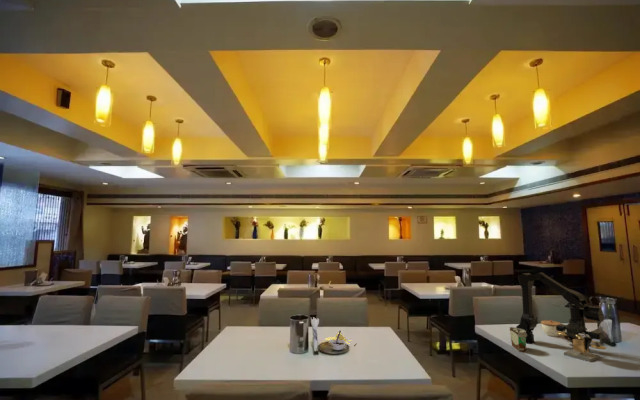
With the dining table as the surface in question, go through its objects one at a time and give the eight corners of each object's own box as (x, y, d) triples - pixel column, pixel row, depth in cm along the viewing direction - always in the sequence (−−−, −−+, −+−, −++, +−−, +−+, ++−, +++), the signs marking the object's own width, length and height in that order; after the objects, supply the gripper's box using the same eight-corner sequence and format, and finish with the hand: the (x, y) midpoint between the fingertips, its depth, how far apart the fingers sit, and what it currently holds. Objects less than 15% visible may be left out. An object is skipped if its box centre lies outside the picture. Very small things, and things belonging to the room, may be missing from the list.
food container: (533, 353, 163) (531, 333, 164) (520, 352, 164) (518, 333, 165) (522, 345, 175) (521, 327, 176) (510, 345, 176) (509, 326, 177)
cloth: (361, 347, 175) (361, 335, 176) (330, 350, 170) (330, 338, 170) (347, 335, 196) (347, 325, 197) (319, 338, 191) (319, 327, 192)
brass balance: (555, 343, 178) (554, 329, 179) (560, 341, 181) (559, 328, 182) (603, 355, 159) (601, 339, 160) (608, 353, 162) (606, 338, 163)
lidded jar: (566, 336, 192) (564, 320, 193) (559, 339, 186) (557, 323, 187) (546, 331, 201) (544, 317, 202) (539, 334, 195) (537, 319, 196)
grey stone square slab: (563, 354, 160) (563, 352, 161) (574, 351, 166) (574, 348, 166) (589, 362, 151) (589, 359, 151) (600, 357, 156) (599, 355, 156)
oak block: (573, 350, 160) (572, 339, 160) (578, 348, 162) (576, 337, 162) (584, 353, 156) (583, 341, 156) (588, 351, 158) (587, 340, 158)
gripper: (549, 315, 165) (552, 345, 163) (592, 323, 149) (596, 357, 147) (560, 313, 170) (563, 342, 168) (602, 320, 154) (606, 353, 152)
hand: (580, 348), depth 159 cm, fingers closed on oak block, 4 cm apart
